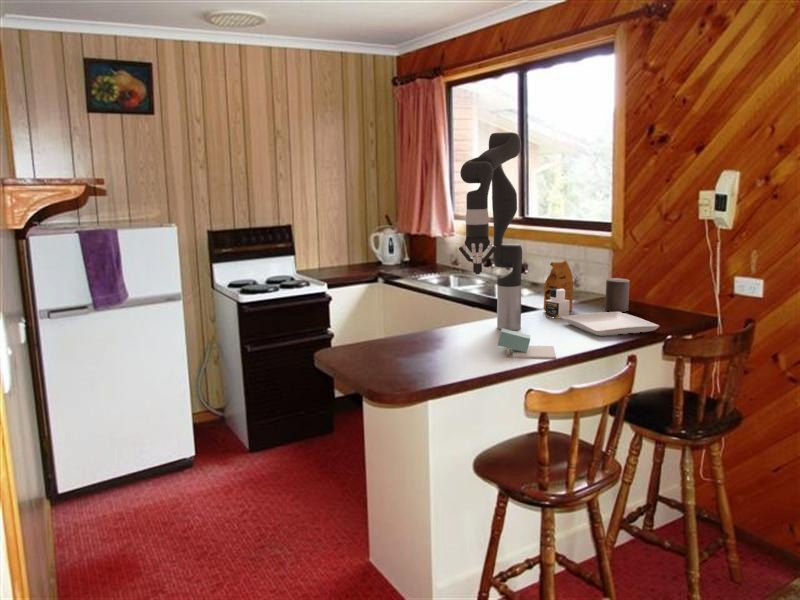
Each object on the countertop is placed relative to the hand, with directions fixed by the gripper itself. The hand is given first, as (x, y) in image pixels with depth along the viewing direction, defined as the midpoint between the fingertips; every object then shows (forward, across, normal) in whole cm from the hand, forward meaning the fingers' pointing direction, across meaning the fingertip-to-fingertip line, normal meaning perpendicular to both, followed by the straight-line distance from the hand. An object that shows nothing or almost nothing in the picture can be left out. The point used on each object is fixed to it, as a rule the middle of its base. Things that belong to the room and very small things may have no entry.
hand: (477, 273), depth 227 cm
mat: (+27, -19, +1) cm, 33 cm away
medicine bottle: (+28, -31, -57) cm, 71 cm away
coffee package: (+28, -32, -69) cm, 81 cm away
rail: (+27, -10, +1) cm, 29 cm away
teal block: (+22, -7, +1) cm, 23 cm away
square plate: (+28, -49, -37) cm, 67 cm away
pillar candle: (+28, -57, -70) cm, 94 cm away
